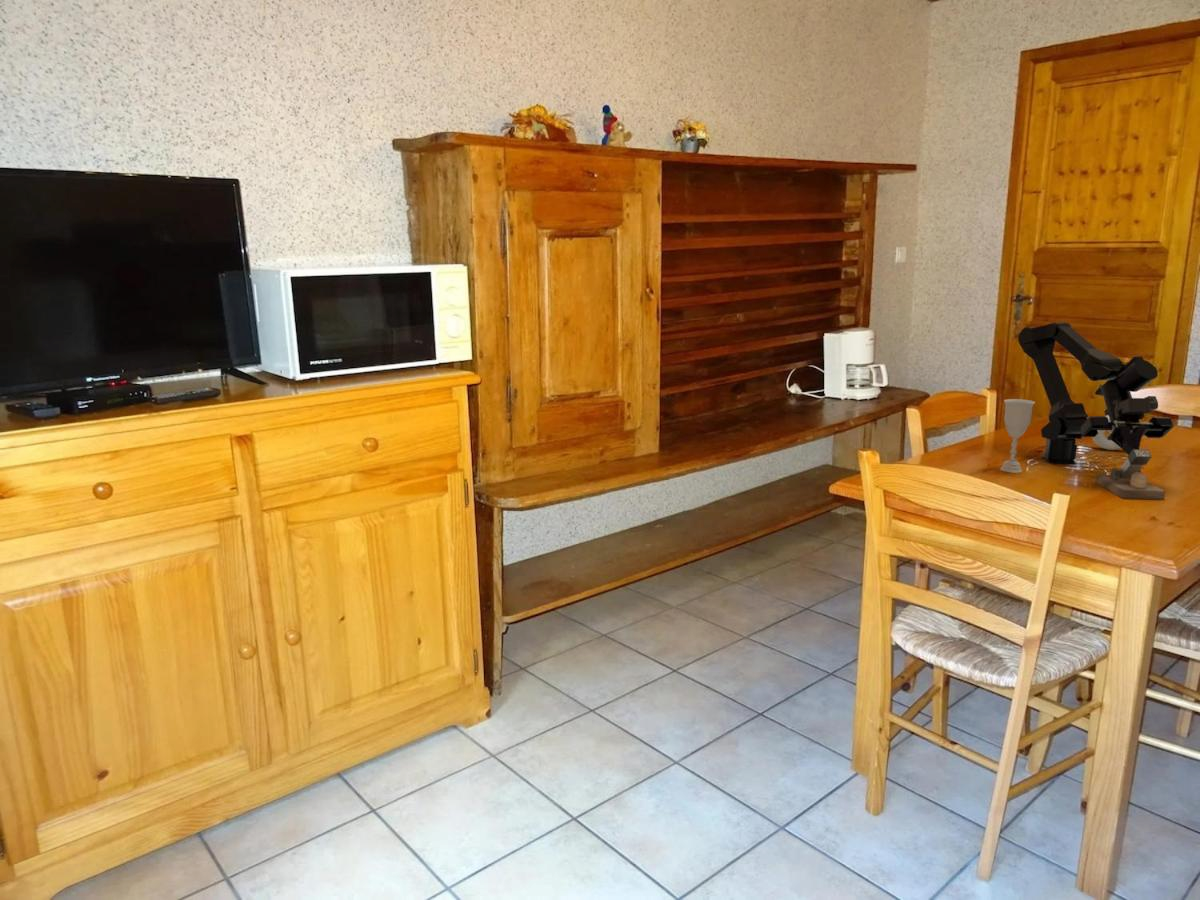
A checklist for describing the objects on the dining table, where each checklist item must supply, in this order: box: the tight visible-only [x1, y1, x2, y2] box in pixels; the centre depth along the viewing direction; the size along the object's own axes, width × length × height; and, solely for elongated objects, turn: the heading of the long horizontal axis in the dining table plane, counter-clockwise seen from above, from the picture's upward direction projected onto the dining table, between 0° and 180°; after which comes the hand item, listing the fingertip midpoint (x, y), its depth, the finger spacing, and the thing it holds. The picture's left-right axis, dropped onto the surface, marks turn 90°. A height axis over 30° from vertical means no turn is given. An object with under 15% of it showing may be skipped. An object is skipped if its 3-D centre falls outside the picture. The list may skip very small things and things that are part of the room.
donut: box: [1091, 415, 1121, 451], centre depth 234 cm, size 10×3×10 cm, turn 59°
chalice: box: [999, 398, 1036, 474], centre depth 213 cm, size 7×7×18 cm
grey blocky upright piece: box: [1119, 448, 1152, 479], centre depth 196 cm, size 2×3×9 cm
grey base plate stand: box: [1095, 468, 1166, 501], centre depth 197 cm, size 13×9×4 cm
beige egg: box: [1130, 471, 1148, 489], centre depth 193 cm, size 3×3×4 cm
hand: (1135, 458), depth 196 cm, fingers closed, pressing on grey blocky upright piece
